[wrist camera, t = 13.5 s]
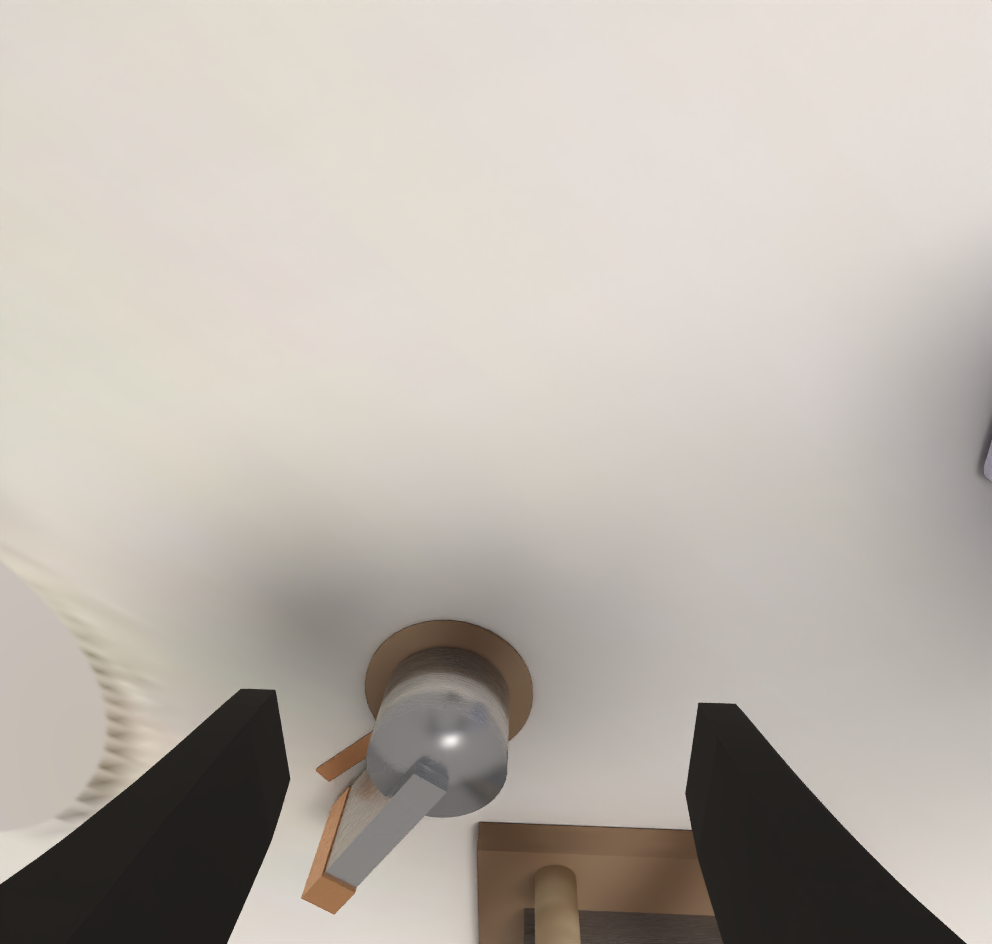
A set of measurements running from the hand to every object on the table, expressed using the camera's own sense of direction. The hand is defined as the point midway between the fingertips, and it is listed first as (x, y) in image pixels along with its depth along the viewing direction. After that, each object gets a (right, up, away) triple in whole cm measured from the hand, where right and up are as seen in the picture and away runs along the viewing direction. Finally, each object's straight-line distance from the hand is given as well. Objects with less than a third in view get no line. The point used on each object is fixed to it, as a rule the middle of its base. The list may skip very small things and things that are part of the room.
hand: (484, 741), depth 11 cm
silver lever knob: (-3, -5, +13) cm, 14 cm away
